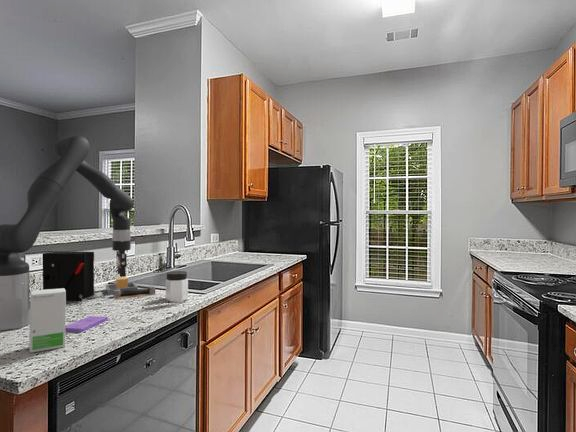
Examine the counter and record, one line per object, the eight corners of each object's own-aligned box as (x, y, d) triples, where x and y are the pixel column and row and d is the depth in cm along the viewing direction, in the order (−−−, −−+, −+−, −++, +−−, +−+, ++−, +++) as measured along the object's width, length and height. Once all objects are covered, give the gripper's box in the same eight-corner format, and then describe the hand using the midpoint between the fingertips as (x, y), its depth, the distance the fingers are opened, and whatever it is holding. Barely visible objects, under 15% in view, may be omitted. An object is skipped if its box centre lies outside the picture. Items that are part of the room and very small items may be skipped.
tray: (137, 294, 159) (137, 286, 159) (108, 297, 153) (108, 289, 153) (133, 289, 169) (133, 282, 169) (105, 292, 163) (105, 284, 163)
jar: (188, 298, 152) (188, 270, 152) (187, 302, 144) (187, 273, 144) (166, 299, 150) (166, 271, 150) (164, 304, 142) (164, 274, 142)
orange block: (127, 291, 160) (127, 278, 160) (116, 293, 157) (116, 279, 157) (126, 289, 164) (126, 276, 164) (115, 290, 162) (115, 277, 162)
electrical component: (97, 296, 154) (97, 251, 154) (81, 302, 144) (81, 254, 144) (60, 295, 156) (59, 250, 156) (41, 301, 146) (41, 253, 145)
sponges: (61, 333, 110) (61, 327, 110) (89, 320, 123) (89, 315, 123) (81, 334, 109) (81, 328, 109) (108, 321, 122) (108, 316, 122)
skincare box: (29, 353, 93) (28, 295, 93) (29, 346, 98) (29, 290, 98) (66, 346, 98) (66, 290, 98) (65, 339, 103) (64, 286, 103)
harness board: (152, 292, 162) (152, 284, 162) (156, 297, 153) (156, 288, 153) (112, 297, 153) (112, 288, 153) (115, 302, 145) (115, 293, 145)
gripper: (110, 239, 165) (110, 273, 165) (113, 241, 152) (113, 278, 153) (128, 238, 169) (128, 272, 169) (132, 240, 156) (132, 276, 156)
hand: (121, 275), depth 161 cm, fingers open, 8 cm apart
